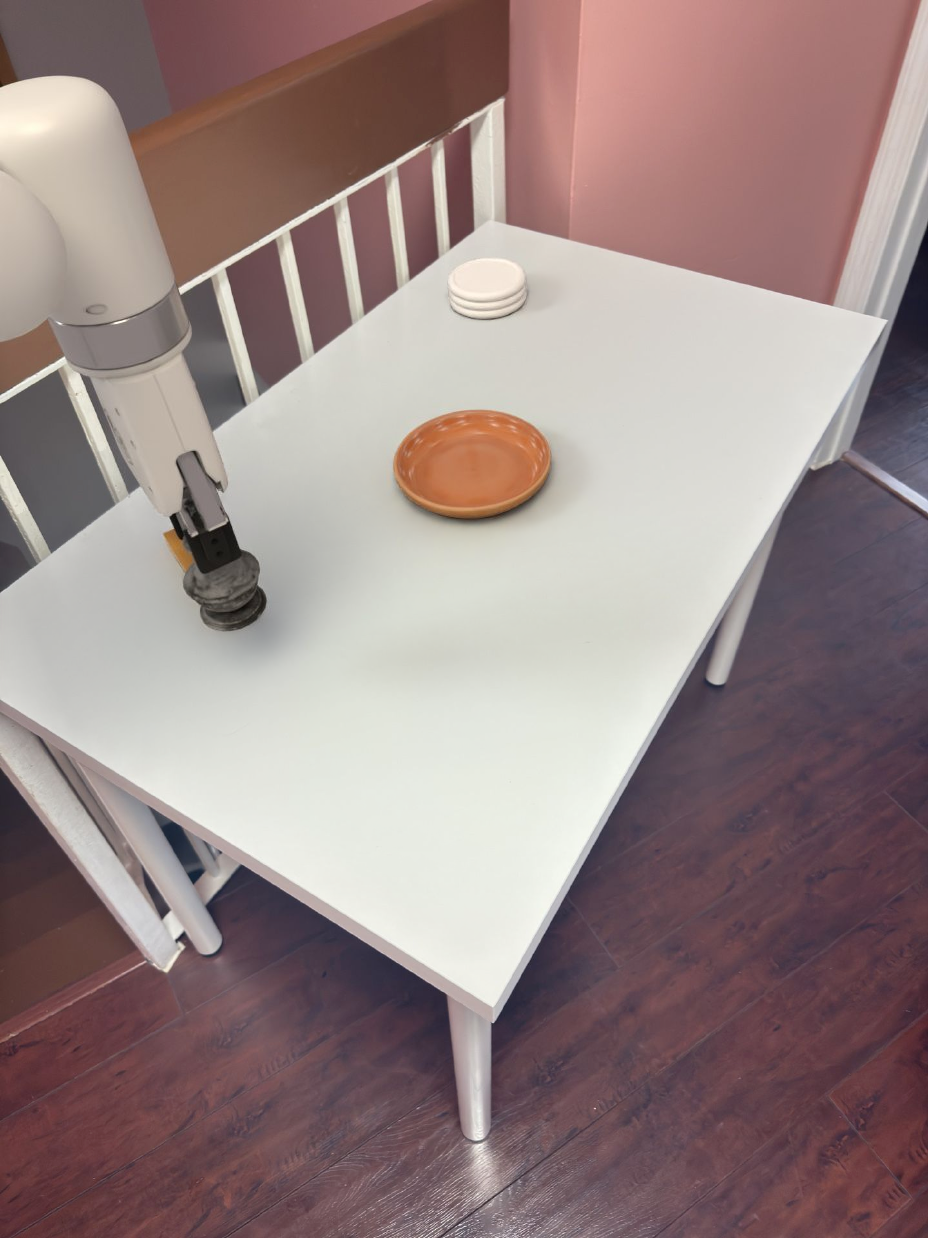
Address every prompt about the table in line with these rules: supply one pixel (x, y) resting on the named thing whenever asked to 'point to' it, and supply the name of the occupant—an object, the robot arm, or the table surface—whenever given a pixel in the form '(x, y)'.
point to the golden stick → (178, 549)
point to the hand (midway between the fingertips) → (209, 545)
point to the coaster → (487, 288)
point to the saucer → (472, 463)
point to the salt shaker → (225, 590)
